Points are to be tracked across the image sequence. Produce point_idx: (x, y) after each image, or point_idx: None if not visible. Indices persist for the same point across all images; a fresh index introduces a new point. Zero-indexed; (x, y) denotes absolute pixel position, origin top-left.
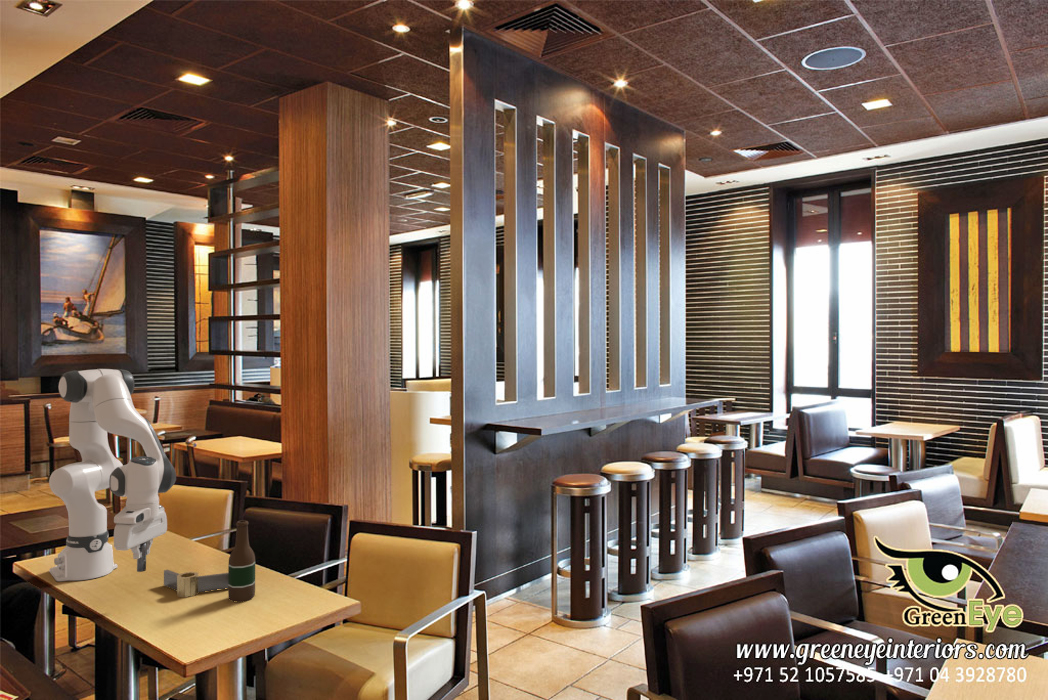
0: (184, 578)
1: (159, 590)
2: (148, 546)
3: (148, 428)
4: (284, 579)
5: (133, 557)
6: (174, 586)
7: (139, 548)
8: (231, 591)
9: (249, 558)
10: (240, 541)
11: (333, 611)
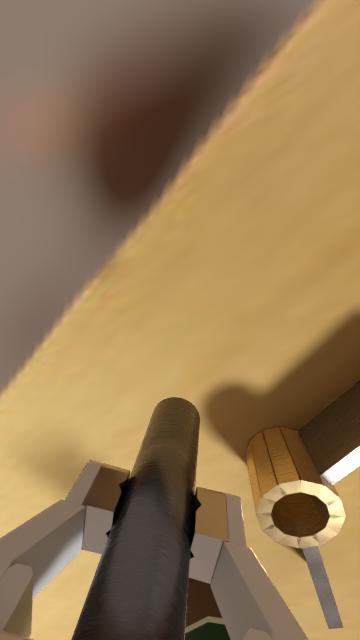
0: (256, 512)
1: (338, 353)
2: (224, 609)
3: None
4: None
5: (86, 466)
6: (338, 410)
7: (95, 578)
8: (193, 606)
9: None
10: None
11: None
